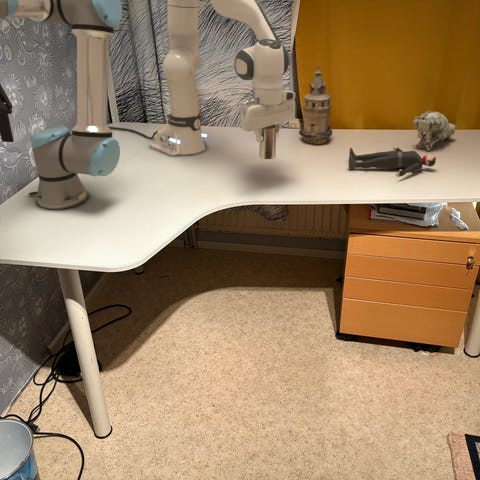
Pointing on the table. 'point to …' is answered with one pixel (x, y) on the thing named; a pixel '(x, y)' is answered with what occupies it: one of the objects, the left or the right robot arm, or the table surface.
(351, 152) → the toy
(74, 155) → the left robot arm
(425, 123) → the figurine
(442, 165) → the table surface
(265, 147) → the canister
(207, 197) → the table surface
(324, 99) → the miniature building
